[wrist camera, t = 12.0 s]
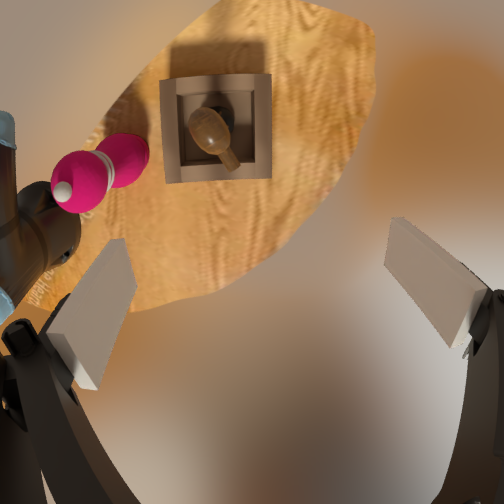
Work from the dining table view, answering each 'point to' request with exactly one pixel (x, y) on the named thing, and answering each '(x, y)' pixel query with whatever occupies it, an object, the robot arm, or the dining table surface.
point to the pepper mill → (98, 171)
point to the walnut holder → (242, 137)
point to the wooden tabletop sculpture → (214, 133)
